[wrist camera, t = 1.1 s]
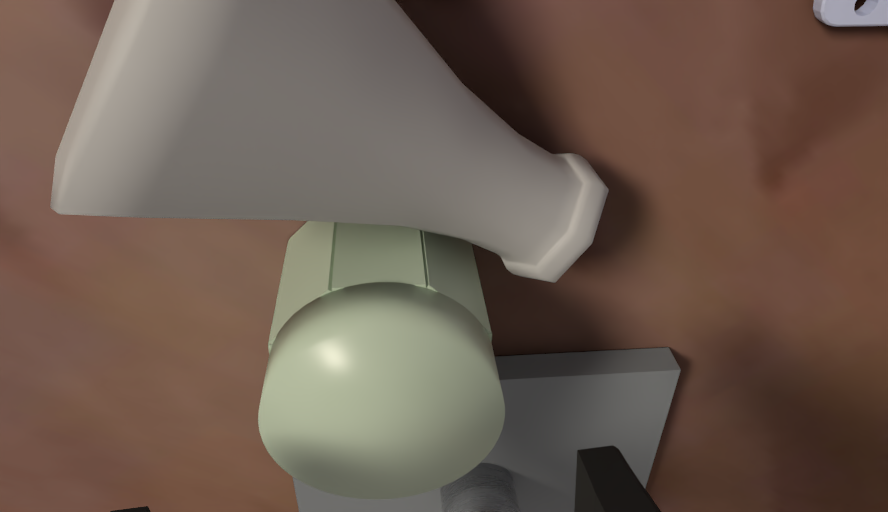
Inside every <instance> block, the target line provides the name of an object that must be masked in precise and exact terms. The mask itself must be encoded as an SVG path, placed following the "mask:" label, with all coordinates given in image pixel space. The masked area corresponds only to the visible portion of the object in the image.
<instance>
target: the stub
mask: <svg viewBox="0 0 888 512" xmlns="http://www.w3.org/2000/svg"><path fill="white" fill-rule="evenodd" d="M440 494H441V505H442V512H520V510H519V505H518V501H517V496H516V491H515V486H514V481H513V477H512V475H511V474H510V473H509V472H508V471H507V470H506V469H505V468H503V467H501V466H498V465H495V464H490V463H479V464H478V465H477V466H476V467H475V468H473V469H472V470H471V471H469V472H468V473H467V474H465V475H463V476H462V477H460V478H459V479H457V480H455V481H453V482H451V483H449V484H447V485H445V486H442V487H440Z"/></svg>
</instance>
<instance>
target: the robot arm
mask: <svg viewBox="0 0 888 512" xmlns="http://www.w3.org/2000/svg"><path fill="white" fill-rule="evenodd" d="M856 1H857V0H814V5H813V11H814V14H815V17H816V18H817V19H818V20H820V21H821V22H823V23H825V24H827V25H831V26H835V27H839V26H888V0H866V1H865V3H864V5H863V6H862V7H860V8H859V9H858V10H855V11H854V7H855V2H856ZM110 512H150V510H149V508H148V506H146V507H138V508H131V509H123V510H115V511H110ZM574 512H661V511H660V509H659V508H658V507H657V505H656V504H655V503H654V501H653V500H652V498H651V497H650V495H649V494H648V493H647V491H646V490H645V488H644V487H643V485H642V484H641V483H640V481H639V480H638V478H637V477H636V475H635V474H634V472H633V471H632V469H631V467H630V466H629V464H628V463H627V461H626V460H625V458H624V457H623V455H622V453H621V452H620V450H619V449H618V448H616V447H615V446H613V445H611V446H604V447H596V448H589V449H581V450H577V467H576V487H575V508H574Z"/></svg>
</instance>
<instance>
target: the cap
mask: <svg viewBox="0 0 888 512" xmlns="http://www.w3.org/2000/svg"><path fill="white" fill-rule="evenodd" d="M491 342H492V332H491V328H490V323H489V319H488V314H487V310H486V305H485V301H484V296H483V292H482V287H481V283H480V278H479V274H478V269H477V265H476V260H475V256H474V252H473V247H472V243H470V242H467V241H465V240H462V239H459V238H455V237H450V236H445V235H441V234H436V233H431V232H427V231H422V230H417V229H412V228H408V227H403V226H394V225H376V224H357V223H339V222H321V221H307V222H306V223H305V224H304V225H303V226H302V227H301V228H300V229H299V230H298V231H297V232H296V233H295V234H294V235H293V236H292V237H291V238H290V239H289V241H288V244H287V250H286V255H285V260H284V265H283V270H282V275H281V280H280V285H279V291H278V296H277V301H276V306H275V311H274V316H273V321H272V327H271V332H270V337H269V342H268V349H269V359H268V364H267V369H266V375H265V380H264V385H263V391H262V396H261V401H260V407H259V416H258V423H259V432H260V435H261V438H262V441H263V443H264V445H265V447H266V449H267V451H268V453H269V454H270V455H271V456H272V458H273V459H274V460H275V462H276V463H277V464H278V465H279V466H280V467H282V468H283V469H284V470H285V471H286V472H287V473H289V474H290V475H292V476H293V477H294V478H296V479H298V480H299V481H301V482H303V483H305V484H307V485H309V486H311V487H314V488H316V489H318V490H321V491H324V492H328V493H331V494H335V495H339V496H344V497H350V498H358V499H393V498H403V497H408V496H413V495H418V494H421V493H425V492H429V491H432V490H434V489H437V488H440V487H442V486H445V485H447V484H449V483H451V482H453V481H455V480H457V479H459V478H460V477H462V476H463V475H465V474H467V473H468V472H469V471H471V470H472V469H473V468H475V467H476V466H477V465H478V464H479V463H480V462H481V461H482V460H483V459H484V458H485V457H486V456H487V455H488V454H489V453H490V451H491V450H492V449H493V447H494V446H495V444H496V442H497V440H498V439H499V436H500V434H501V431H502V429H503V424H504V419H505V404H504V398H503V393H502V389H501V384H500V380H499V375H498V371H497V366H496V361H495V357H494V352H493V348H492V344H491Z"/></svg>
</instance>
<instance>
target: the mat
mask: <svg viewBox="0 0 888 512" xmlns="http://www.w3.org/2000/svg"><path fill="white" fill-rule="evenodd" d="M495 361H496V366H497V371H498V375H499V380H500V384H501V389H502V393H503V398H504V404H505V419H504V424H503V429H502V431H501V434H500V436H499V439H498V440H497V442H496V444H495V446H494V447H493V449H492V450H491V451H490V453H489V454H488V455H487V456H486V457H485V458H484V459H483V460H482V461H481V462H480V463H490V464H495V465H498V466H501V467H503V468H505V469H506V470H507V471H508V472H509V473H510V474H511V475H512V477H513V481H514V486H515V491H516V496H517V501H518V505H519V510H520V512H574V508H575V487H576V467H577V450H581V449H589V448H596V447H604V446H611V445H613V446H615V447H616V448H618V449H619V450H620V452H621V453H622V455H623V457H624V458H625V460H626V461H627V463H628V464H629V466H630V467H631V469H632V471H633V472H634V474H635V475H636V477H637V478H638V480H639V481H640V483H641V484H642V485H643V487H644V488H646V485H647V481H648V478H649V475H650V471H651V468H652V465H653V461H654V458H655V455H656V451H657V448H658V445H659V441H660V438H661V435H662V431H663V428H664V424H665V421H666V418H667V414H668V411H669V408H670V404H671V401H672V398H673V394H674V391H675V388H676V384H677V381H678V378H679V374H680V371H681V369H680V367H679V366H678V364H677V362H676V360H675V358H674V356H673V355H672V353H671V351H670V349H669V347H666V348H647V349H628V350H609V351H590V352H572V353H553V354H534V355H515V356H496V357H495ZM293 482H294V487H295V492H296V498H297V503H298V508H299V512H442V505H441V494H440V488H437V489H434V490H432V491H429V492H425V493H421V494H418V495H413V496H408V497H403V498H393V499H358V498H350V497H344V496H339V495H335V494H331V493H328V492H324V491H321V490H318V489H316V488H314V487H311V486H309V485H307V484H305V483H303V482H301V481H299V480H298V479H296V478H294V477H293Z"/></svg>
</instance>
